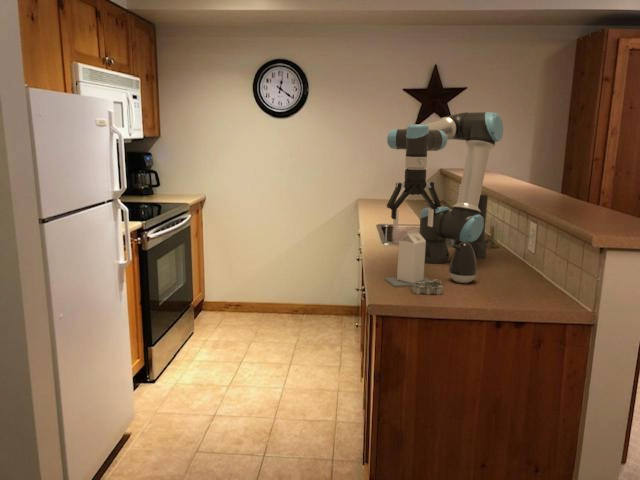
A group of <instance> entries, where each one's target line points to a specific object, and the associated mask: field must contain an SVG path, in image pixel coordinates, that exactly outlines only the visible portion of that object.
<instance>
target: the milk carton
mask: <svg viewBox="0 0 640 480" xmlns="http://www.w3.org/2000/svg"><path fill="white" fill-rule="evenodd" d="M425 246H426V241H425V239H424V238H423V237H422V236H421V234H420V228H417V229H411V230H406V234H405V235H404V236H403V237H402V238H400V239H399V240H398V252H397V253H398V254H397V271H396V273H397V275H396V277H397V280H401V281H405V282H409V283H411V282H415V283H416V282H419V281H422V280H423V279H424V276H425V263H426V262H425Z"/></svg>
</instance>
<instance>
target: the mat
mask: <svg viewBox="0 0 640 480" xmlns="http://www.w3.org/2000/svg"><path fill="white" fill-rule="evenodd" d="M383 279H384V280H385V281H386V282H387V283H389V284H390V285H391V286H393V287H394V288H402V287H412V283H409V282H405V281H401V280H397V276H391V277H389V276H387V277H384V278H383ZM431 280H432V279H430V278H428V277H426V276H425V275H424V279H423V280H422V281H419V282H426V281H431ZM416 283H417V282H416Z"/></svg>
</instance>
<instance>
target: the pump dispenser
mask: <svg viewBox="0 0 640 480" xmlns="http://www.w3.org/2000/svg"><path fill="white" fill-rule="evenodd" d="M452 248H453V249H454V251H453V252H452V256H451V258H450V260H449V266H448V272H449V275H450V278H451V280H452V281H454V282H456V283H460V284H469V283H470V282H472V281H474V279H475V278H476V275H477V273H478V266H477V259H476V257H475V253H474V250H473V248H472V246H471V242H462V241H460V242H459V243H458V244H457V245H456V244H453V245H452Z"/></svg>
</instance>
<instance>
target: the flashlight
mask: <svg viewBox="0 0 640 480" xmlns="http://www.w3.org/2000/svg"><path fill="white" fill-rule="evenodd" d="M488 198H489V196H488V194H480V199H479V204H478V208H479V210H480V211H481V213H480V215H481V216H482V217H483V218H484V227H483V230H482V233H481V235H480V236H479V238H477V240H475V241H473V242H470V244H471V246H472V248H473V250H474V253H475V257H476V260H477V259H478V260H482V259H483V260H484V259H486V258H485V257H487V256H486V255H487V245H486V242H485V237H486V236H485V233H486V220H487V219H486V218H487V207H488Z"/></svg>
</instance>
